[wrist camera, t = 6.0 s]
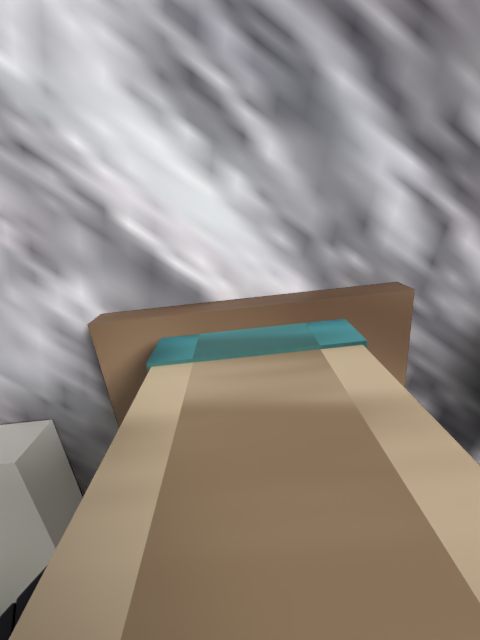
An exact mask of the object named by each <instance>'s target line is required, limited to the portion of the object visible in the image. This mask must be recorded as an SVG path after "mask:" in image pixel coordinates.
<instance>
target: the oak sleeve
mask: <svg viewBox="0 0 480 640" xmlns="http://www.w3.org/2000/svg"><path fill="white" fill-rule="evenodd" d="M146 365H147V369H148V374H147V376H146V378H145V380H144V382H143V384H142V385H141V387H140V389H139V391H138V393H137V395H136V397H135V399H134V401H133V403H132V405H131V406H130V408H129V410H128V412H127V414H126V416H125V418H124V420H123V422H122V424H121V426H120V428H119V429H118V431H117V433H116V435H115V437H114V439H113V441H112V443H111V445H110V447H109V449H108V450H107V452H106V454H105V456H104V458H103V460H102V462H101V464H100V466H99V468H98V470H97V471H96V473H95V475H94V477H93V479H92V481H91V483H90V485H89V487H88V489H87V491H86V493H85V494H84V496H83V498H82V500H81V502H80V504H79V506H78V508H77V510H76V512H75V514H74V515H73V517H72V519H71V521H70V523H69V525H68V527H67V529H66V531H65V533H64V535H63V536H62V538H61V540H60V542H59V544H58V546H57V548H56V550H55V552H54V554H53V556H52V558H51V559H50V561H49V563H48V565H47V567H46V569H45V571H44V573H43V575H42V577H41V579H40V580H39V582H38V584H37V586H36V588H35V590H34V592H33V594H32V596H31V598H30V600H29V601H28V603H27V605H26V607H25V609H24V611H23V613H22V615H21V617H20V619H19V621H18V623H17V624H16V626H15V628H14V630H13V632H12V634H11V636H10V638H9V640H480V465H479V464H478V463H477V462H476V461H475V460H474V459H473V458H472V457H471V456H470V455H469V454H468V453H467V452H466V451H465V450H464V449H463V448H462V447H461V446H460V445H459V444H458V442H457V441H456V440H455V439H454V438H453V437H452V436H451V435H450V434H449V433H448V432H447V431H446V430H445V429H444V428H443V427H442V426H441V425H440V424H439V423H438V422H437V421H436V420H435V419H434V418H433V417H432V416H431V415H430V414H429V413H428V412H427V410H426V409H425V408H424V407H423V406H422V405H421V404H420V403H419V402H418V401H417V400H416V399H415V398H414V397H413V396H412V395H411V394H410V393H409V392H408V391H407V390H406V389H405V388H404V387H403V386H402V385H401V384H400V383H399V382H398V381H397V379H396V378H395V377H394V376H393V375H392V374H391V373H390V372H389V371H388V370H387V369H386V368H385V367H384V366H383V365H382V364H381V363H380V362H379V361H378V360H377V359H376V358H375V357H374V356H373V355H372V354H371V353H370V352H369V351H368V350H367V340H366V339H365V338H364V337H363V336H362V335H361V334H360V333H359V332H358V331H357V330H356V329H355V328H354V327H353V326H352V325H351V324H350V323H349V322H348V321H347V320H346V319H336V320H327V321H317V322H308V323H298V324H289V325H279V326H270V327H260V328H251V329H241V330H232V331H222V332H213V333H203V334H194V335H184V336H175V337H165V338H160V340H159V342H158V344H157V345H156V347H155V349H154V351H153V352H152V354H151V356H150V358H149V359H148V361H147V363H146Z"/></svg>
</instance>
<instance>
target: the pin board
mask: <svg viewBox="0 0 480 640" xmlns="http://www.w3.org/2000/svg"><path fill="white" fill-rule="evenodd" d="M414 290H415V289H413V288H410V287H408V286H406V285H403V284H401V283H399V282H392V283H383V284H373V285H364V286H355V287H346V288H336V289H327V290H318V291H309V292H299V293H290V294H281V295H272V296H263V297H253V298H244V299H235V300H226V301H216V302H207V303H198V304H189V305H179V306H170V307H161V308H152V309H142V310H133V311H124V312H115V313H105V314H100V315H99V316H98V317H97V318H95V319H94V320H93V321H92V322H90V323H89V324H88V327H89V331H90V334H91V337H92V341H93V344H94V347H95V350H96V354H97V357H98V360H99V364H100V367H101V370H102V374H103V377H104V380H105V383H106V387H107V390H108V393H109V397H110V400H111V403H112V407H113V410H114V413H115V416H116V420H117V423H118V426H119V428H120V426H121V424H122V422H123V420H124V418H125V416H126V414H127V412H128V410H129V408H130V406H131V405H132V403H133V401H134V399H135V397H136V395H137V393H138V391H139V389H140V387H141V385H142V384H143V382H144V380H145V378H146V376H147V374H148V369H147V365H146V363H147V361H148V359H149V358H150V356H151V354H152V352H153V351H154V349H155V347H156V345H157V344H158V342H159V340H160V338H165V337H175V336H184V335H194V334H203V333H213V332H222V331H232V330H241V329H251V328H260V327H270V326H279V325H289V324H298V323H308V322H317V321H327V320H336V319H346V320H347V321H348V322H349V323H350V324H351V325H352V326H353V327H354V328H355V329H356V330H357V331H358V332H359V333H360V334H361V335H362V336H363V337H364V338H365V339H366V340H367V350H368V351H369V352H370V353H371V354H372V355H373V356H374V357H375V358H376V359H377V360H378V361H379V362H380V363H381V364H382V365H383V366H384V367H385V368H386V369H387V370H388V371H389V372H390V373H391V374H392V375H393V376H394V377H395V378H396V379H397V381H398V382H399V383H400V384H401V385H402V386H403V387H404V388H405V380H406V370H407V360H408V350H409V340H410V330H411V320H412V310H413V300H414Z"/></svg>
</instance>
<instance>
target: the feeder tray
mask: <svg viewBox="0 0 480 640" xmlns="http://www.w3.org/2000/svg"><path fill="white" fill-rule="evenodd" d="M82 498H83V497H82V495H81V492H80V490H79V487H78V485H77V482H76V479H75V477H74V474H73V472H72V469H71V467H70V464H69V462H68V459H67V457H66V454H65V452H64V449H63V446H62V444H61V441H60V439H59V436H58V434H57V431H56V429H55V426H54V424H53V421H52V420H44V421H34V422H24V423H15V424H5V425H0V616H1V615H2V614H3V612H4V611H5V610H6V609H7V608H8V607H9V606H10V605H11V604H12V603H16V600H17V598H18V596H19V595H20V594H21V593H22V592H23V591H24V590H25V589H26V588H27V587H28V585H29V584H30V583H31V582H32V581H33V580H34V579H35V578H36V577H37V576H38V575H39V573H40V572H41V571H42V570H43V569H44V568H45V567H46V566H47V565H48V563H49V561H50V559H51V558H52V556H53V554H54V552H55V550H56V548H57V546H58V544H59V542H60V540H61V538H62V536H63V535H64V533H65V531H66V529H67V527H68V525H69V523H70V521H71V519H72V517H73V515H74V514H75V512H76V510H77V508H78V506H79V504H80V502H81V500H82Z"/></svg>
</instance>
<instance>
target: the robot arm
mask: <svg viewBox="0 0 480 640" xmlns="http://www.w3.org/2000/svg"><path fill="white" fill-rule="evenodd" d="M46 567H47V566H46ZM46 567H45V568H44V569H43V570H42V571H41V572H40V573H39V575H38V576H37V577H36V578H35V579H34V580H33V581H32V582H31V583H30V584H29V585H28V587H27V588H26V589H25V590H24V591H23V592H22V593H21V594H20V595H19V596H18V598H17V600H16V603H12V604H11V605H10V606H9V607H8V608H7V609H6V610H5V611H4V612H3V614H2V615H1V616H0V640H9V638H10V636H11V634H12V632H13V630H14V628H15V626H16V624H17V623H18V621H19V619H20V617H21V615H22V613H23V611H24V609H25V607H26V605H27V603H28V601H29V600H30V598H31V596H32V594H33V592H34V590H35V588H36V586H37V584H38V582H39V580H40V579H41V577H42V575H43V573H44V571H45V569H46Z"/></svg>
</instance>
